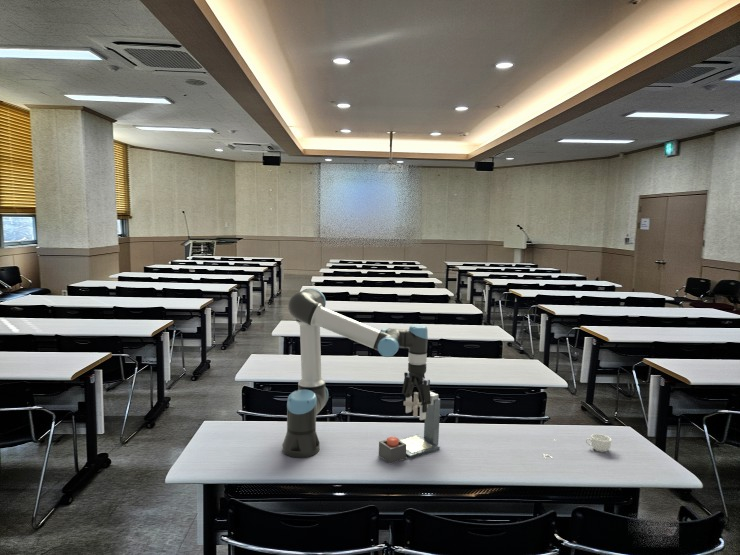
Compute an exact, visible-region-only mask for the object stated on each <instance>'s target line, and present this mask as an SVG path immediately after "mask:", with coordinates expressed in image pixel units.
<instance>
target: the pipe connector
mask: <svg viewBox="0 0 740 555" xmlns="http://www.w3.org/2000/svg"><path fill="white" fill-rule="evenodd" d="M420 404H422V403H421V402H420V398H419V391H418V392H417V391H414V392H413V401H412V402H409V401H405V400H403V406H405V407H406V406H412V417H414V418H417V417H418V411H419V409H418V408H420ZM427 408H428V405H427Z"/></svg>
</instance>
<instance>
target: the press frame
mask: <svg viewBox="0 0 740 555" xmlns="http://www.w3.org/2000/svg"><path fill="white" fill-rule="evenodd" d="M430 397H431V404H428V408H427V412H426V419H424V426H423V427H424V429H423V436H422V435H420V434H417V433H416V434H413V435H410V436H407V437H403V438H398V439H399V440H400V441H401V442H403V443H405V444H406V459H409V460H413V459H415V458H419V457H421V456H425V455H427V454H431V453H434V452H436V451H440V448H441V447H440V445H439V437H440V436H439V435H440V434H439V433H440V416H441V415H440V414H441V412H440V411H441V399H440V398H439V394H438V393H436V392H433V391H432V390H430Z"/></svg>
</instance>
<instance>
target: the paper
mask: <svg viewBox="0 0 740 555" xmlns="http://www.w3.org/2000/svg"><path fill="white" fill-rule="evenodd" d="M553 441H556V440H555V439H553ZM542 457H543V458H544V459H545V460H547V459H548V457H550V458H551V459H552V460H553V459H554V457H553V456H552V455H551V454H548V453H543V454H542Z"/></svg>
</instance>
